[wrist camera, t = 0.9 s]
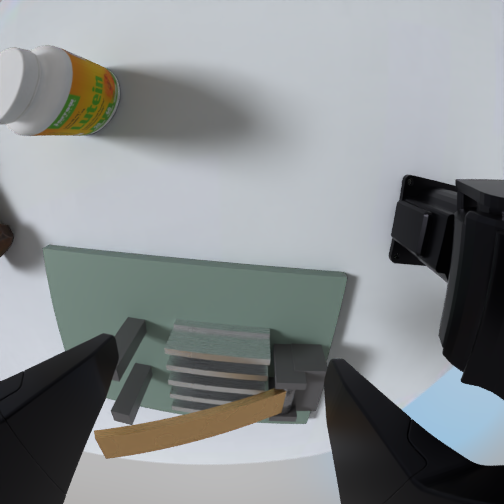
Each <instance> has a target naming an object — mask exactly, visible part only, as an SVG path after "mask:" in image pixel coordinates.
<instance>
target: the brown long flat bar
mask: <svg viewBox="0 0 504 504" xmlns="http://www.w3.org/2000/svg"><path fill="white" fill-rule="evenodd" d="M294 394H295V390H291V389H275V388H274V389H271V390H268V391H265V392H262V393H259V394H256V395H253V396H250V397H247V398H243V399H240V400H237V401H234V402H230V403H227V404H223V405H220V406H216V407H213V408H209V409H205V410H201V411H197V412H193V413H189V414H185V415H181V416H177V417H172V418H168V419H163V420H158V421H153V422H148V423H142V424H137V425H131V426H125V427H118V428H111V429H104V430H96V431H94V434H95V439H96V441H97V443H98V445H99V447H100V448H101V450H102V452H103V454H104V456H105V458H106V459H108V458H115V457H122V456H129V455H135V454H140V453H146V452H151V451H156V450H161V449H165V448H170V447H174V446H178V445H183V444H187V443H190V442H194V441H198V440H202V439H205V438H209V437H212V436H216V435H219V434H222V433H226V432H229V431H232V430H235V429H238V428H241V427H244V426H247V425H250V424H253V423H256V422H258V421H261V420H264V419H266V418H269V417H272V416H274V415H277V414H281V415H286V414H288V413H289V412H290V409H291V405H292V402H293V398H294Z"/></svg>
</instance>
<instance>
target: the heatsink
mask: <svg viewBox="0 0 504 504" xmlns="http://www.w3.org/2000/svg"><path fill="white" fill-rule="evenodd" d="M164 349H165V354H169V355H170V356H169V359H168V361H167V364H166V368H167V370H170V371H171V373H170V375H169V378H168V385H172V388H171V391H170V398H174V399H173V402H172V410H176V411H183V412H189V413H193V412H197V411H201V410H205V409H209V408H213V407H216V406H220V405H223V404H227V403H230V402H234V401H237V400H240V399H243V398H247V397H250V396H253V395H256V394H259V393H262V392H265V381H267V379H268V365H270V360H271V358H270V328H262V327H250V326H238V325H227V324H218V323H208V322H199V321H191V320H183V319H176V320H175V322H174V328H173V330H172V332H171V334H170V337H169V339H168V341H167V343H166V346H165V348H164Z"/></svg>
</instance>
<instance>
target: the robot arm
mask: <svg viewBox="0 0 504 504" xmlns="http://www.w3.org/2000/svg"><path fill="white" fill-rule="evenodd" d="M409 179H411V184H410V185H408V180H409ZM391 236H392V243H391V247H390V252H389V259H390V260H391V261H392V262H394V263H400V264H411V265H423V266H427V267H429V268H430V269H431V270H432V271H434V272H435V273H436V274H437V275H439V276H440V277H441V278H442V279H443V280H445V281H446V282H447V283H448V285H447V292H446V298H445V303H444V309H443V314H442V319H441V323H440V329H439V338H440V341H441V344H442V347H443V352H442V353H443V355H444V356H445V357H446V359H447V360H448V361H449V362H450V363H451V364H452V365H454V366H455V367H456V368H458V369H459V370H460V371H462V372H463V375H462V378H461V382H462V383H465V384H469V385H474V386H479V387H481V388H484V389H486V390H488V391H491V392H493V393H494V394H496V395H497V396H499V397H500V398H502V399H503V400H504V180H489V179H456V186H453V185H449V184H446V183H442V182H438V181H434V180H430V179H426V178H421V177H417V176H413V175H405V176H404V177H403V180H402V187H401V193H400V200H399V201H398V202H397V206H396V212H395V217H394V223H393V228H392V233H391ZM397 253H398V255H397V257H396V258H394V255H395V254H397ZM118 361H119V352H118V347H117V342H116V338H115V336H114V335H111V334H106V333H102V334H100V335H98V336H96V337H94V338H92V339H90V340H88V341H85V342H83V343H81V344H79V345H77V346H75V347H73V348H71V349H69V350H67V351H65V352H62V353H60V354H58V355H56V356H54V357H52V358H50V359H48V360H46V361H44V362H41V363H39V364H37V365H35V366H33V367H31V368H29V369H27V370H25V371H22V372H20V373H18V374H16V375H14V376H12V377H9V378H7V379H5V380H2V381H0V504H63V503H64V500H65V497H66V495H65V494H67V491H68V488H69V486H70V483H71V480H72V477H73V475H74V472H75V470H76V467H77V465H78V462H79V460H80V457H81V455H82V452H83V450H84V447H85V445H86V443H87V440H88V438H89V435H90V433H91V431H92V428H93V426H94V424H95V422H96V419H97V417H98V415H99V413H100V410H101V408H102V406H103V404H104V401H105V399H106V397H107V394H108V391H109V388H110V385H111V382H112V379H113V376H114V373H115V370H116V367H117V364H118ZM324 391H325V405H326V420H327V428H328V433H329V438H330V444H331V449H332V454H333V460H334V465H335V471H336V477H337V482H338V488H339V494H340V501H341V504H504V465H498V466H485V465H479V464H476V463H474V462H472V461H470V460H468V459H467V458H465V457H463V456H462V455H460V454H459V453H457V452H456V451H454V450H453V449H451V448H450V447H448V446H446V445H445V444H444V443H442V442H441V441H440V440H438V439H437V438H435V437H434V436H433V435H431V434H430V433H428V432H427V431H426V430H425V429H424V428H422V427H421V426H420V425H419V424H418V423H416V422H415V421H414V420H413V419H412V420H411V418H410V417H409V416H408V415H407V414H406V413H405V412H403V411H402V410H401V409H400V408H399V407H398V406H396V405H395V404H394V403H393V402H392V401H391V400H390V399H388V398H387V397H386V396H385V395H384V394H383V393H382V392H380V391H379V390H378V389H377V388H376V387H375V386H373V385H372V384H371V383H370V382H369V381H368V380H367V379H366V378H364V377H363V376H362V375H361V374H360V373H359V372H358V371H356V370H355V369H354V368H353V367H352V366H351V365H350V364H348V363H347V362H346V361H345V360H344V359H332V360H330V362H329V365H328V368H327V372H326V375H325V378H324Z"/></svg>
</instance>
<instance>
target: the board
mask: <svg viewBox="0 0 504 504" xmlns="http://www.w3.org/2000/svg"><path fill="white" fill-rule="evenodd" d="M43 255H44V261H45V267H46V273H47V279H48V284H49V289H50V294H51V299H52V303H53V308H54V312H55V316H56V320H57V324H58V328H59V331H60V335H61V338H62V342H63V345H64V349H65V351H67V350H69V349H71V348H73V347H75V346H77V345H79V344H81V343H83V342H85V341H88V340H90V339H92V338H94V337H96V336H98V335H100V334H102V333H106V334H111V335H114V336H115V335H116V333H117V332H118V330H119V329H120V328H121V326H122V325H123V323H124V322H125V321H126V319H127V318H128V317H131V318H137V319H144V320H145V322H146V331H147V333H146V334H145V336H144V338H143V340H142V341H141V343H140V345H139V347H138V349H137V350H136V352H135V354H134V356H133V358H132V360H131V361H130V363H129V365H128V367H127V369H126V371H125V372H124V374H123V376H122V378H121V380H120V382H118V381H114V380H112V382H111V385H110V388H109V391H108V394H107V397H106V398H108V399H112V400H116V399H117V397H118V395H119V393H120V392H121V390H122V388H123V386H124V384H125V382H126V380H127V378H128V376H129V374H130V372H131V370H132V368H133V366H134V364H135V363H140V364H145V365H150V366H151V368H152V374H153V376H152V378H151V381H150V383H149V385H148V388H147V390H146V392H145V395H144V397H143V400H142V402H141V404H140V406H141V407H145V408H150V409H155V410H160V411H165V412H171V413H177V414H183V415H185V414H189V412H183V411H176V410H172V402H173V399H174V398H170V391H171V388H172V385H168V378H169V375H170V373H171V371H170V370H167V368H166V364H167V361H168V359H169V356H170V355H169V354H165V349H164V348H165V346H166V343H167V341H168V339H169V337H170V334H171V332H172V330H173V328H174V322H175V320H176V319H183V320H191V321H199V322H208V323H218V324H227V325H238V326H250V327H262V328H270V358H271V360H270V365H268V378H269V377H275V373H274V356H273V347H274V343H275V344H291V343H294V344H319V345H322V349H323V352H324V356H325V359H326V361H327V357H328V354H329V350H330V347H331V343H332V339H333V336H334V332H335V328H336V324H337V320H338V316H339V312H340V308H341V304H342V300H343V295H344V291H345V286H346V282H347V276H346V275H345V273H344V272H335V271H322V270H310V269H297V268H285V267H273V266H262V265H250V264H239V263H227V262H216V261H205V260H194V259H184V258H173V257H163V256H152V255H142V254H132V253H122V252H112V251H102V250H93V249H83V248H74V247H65V246H56V245H48V246H46V247H45V248H43ZM265 391H268V379H267V381H265ZM296 412H297V419H296V422H286V421H269V418H266V419H264V420H261V421H258V422H257V423H280V424H306V423H307V420H308V417H309V414H310V411H296Z"/></svg>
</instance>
